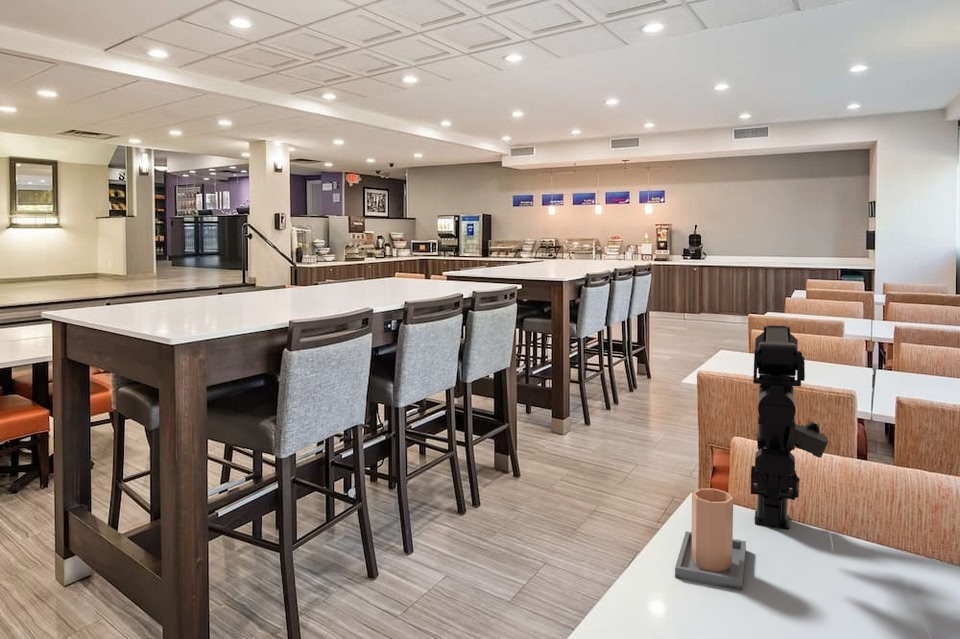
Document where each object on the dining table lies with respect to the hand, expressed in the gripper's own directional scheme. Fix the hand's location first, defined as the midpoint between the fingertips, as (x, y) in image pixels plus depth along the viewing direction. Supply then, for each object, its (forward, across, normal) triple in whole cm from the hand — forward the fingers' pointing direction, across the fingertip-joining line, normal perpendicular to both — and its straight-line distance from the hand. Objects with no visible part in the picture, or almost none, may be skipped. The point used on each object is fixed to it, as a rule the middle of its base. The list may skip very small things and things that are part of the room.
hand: (773, 492), depth 114 cm
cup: (+11, -9, +10) cm, 18 cm away
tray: (+12, -8, +10) cm, 18 cm away
